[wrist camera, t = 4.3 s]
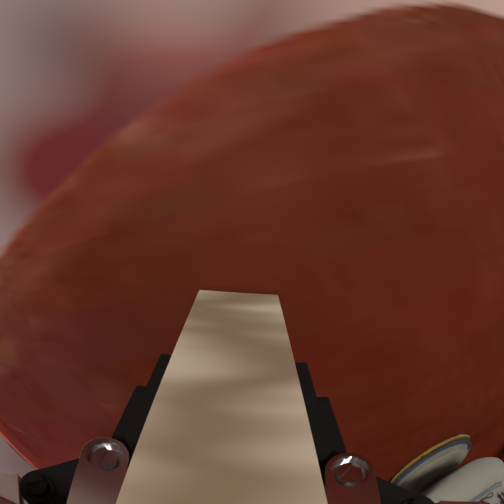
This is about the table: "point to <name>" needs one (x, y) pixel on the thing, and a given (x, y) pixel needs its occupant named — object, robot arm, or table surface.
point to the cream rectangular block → (227, 414)
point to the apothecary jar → (453, 474)
